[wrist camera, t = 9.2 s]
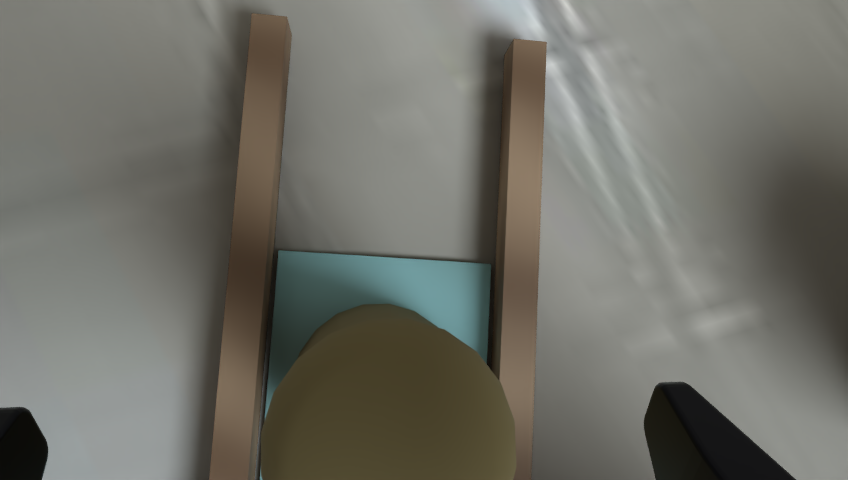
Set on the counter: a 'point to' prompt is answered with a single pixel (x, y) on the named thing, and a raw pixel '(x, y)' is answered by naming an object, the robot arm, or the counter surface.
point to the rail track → (372, 261)
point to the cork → (387, 405)
